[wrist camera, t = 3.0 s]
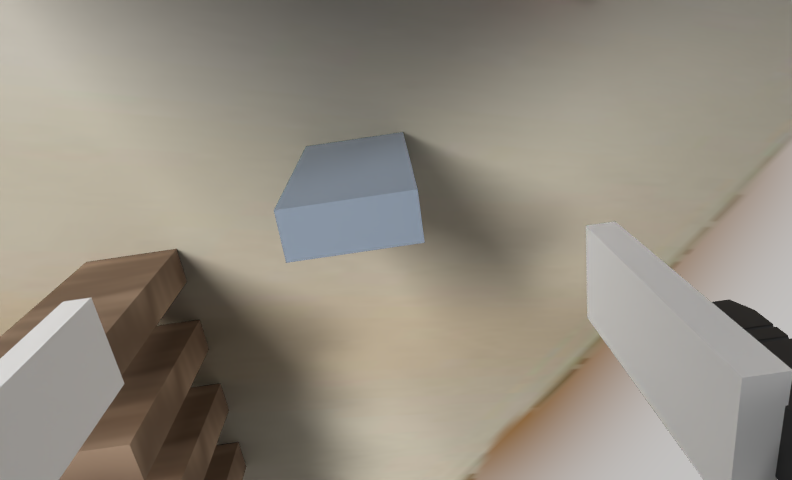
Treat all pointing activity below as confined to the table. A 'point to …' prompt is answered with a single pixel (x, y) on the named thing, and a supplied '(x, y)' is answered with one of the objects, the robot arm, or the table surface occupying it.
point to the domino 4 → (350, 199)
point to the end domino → (226, 463)
